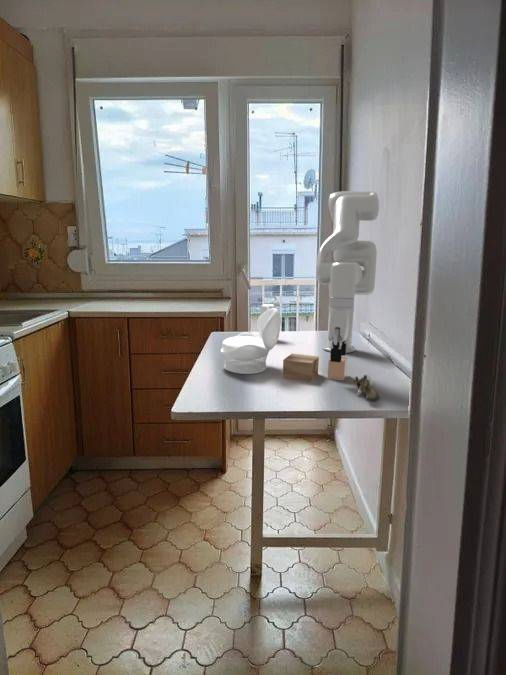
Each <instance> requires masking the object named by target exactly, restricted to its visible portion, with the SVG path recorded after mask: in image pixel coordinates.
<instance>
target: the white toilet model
mask: <svg viewBox="0 0 506 675" xmlns="http://www.w3.org/2000/svg"><path fill="white" fill-rule="evenodd" d="M269 313H271V314H269ZM266 315H267V316H268V317H267V316H266ZM270 315H271V316H270ZM265 316H266V317H265ZM269 316H270V317H269ZM267 318H269V319H267ZM264 319H265V320H264ZM266 319H267V320H266ZM266 321H267V322H266ZM261 322H262V323H261ZM263 323H265V324H263ZM281 325H282V316H281V313H280V312H279V310H278V309H277V307H276V308H272V309H269V310H267V311H265V312H264V313H262V314H261V316H260V315H259V317H258V319H257V322H256V328H257V332H258V335H259V336H260V337H261V338H260V337H259V336H258V335H255V334H253V333H252V332H247V331H244V332H241V333H239V334H236V336H230V337H226V338H225V339H224V340H223V341H222V342H221V343H222V348H220V353H221V354H222V356H223V360H224V365H223V368H224V369H225V370H227V371H228V372H231V373H234V374H243V375H250V374H251V375H252V374H258V373H262V372H264V371H265V370H266V369H267V363H266V362H267V361H266V360H267V358H268V355H269V352H270V351H271V350H272V349H274V348H275V346H276V345H277V343H278V341H279V337H280V330H281Z"/></svg>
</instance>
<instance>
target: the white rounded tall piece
mask: <svg viewBox="0 0 506 675" xmlns="http://www.w3.org/2000/svg"><path fill="white" fill-rule="evenodd" d="M272 308H276V309H277V306H276V304H273V303H271V304H269V303H263V304H260V308H259V317H260V316H261V314H262V313H264V312H265V311H267V310H269V309H272ZM269 314H271V313H269ZM266 316H267V315H266ZM266 316H265V317H266ZM270 316H271V315H270ZM270 316H269V317H270ZM267 317H268V316H267ZM267 319H269V318H267ZM267 319H266V320H267ZM264 320H265V319H264ZM266 322H267V321H266ZM261 323H262V322H261ZM263 324H265V323H263ZM259 338H261V336H260V337H259Z"/></svg>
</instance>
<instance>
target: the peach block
mask: <svg viewBox="0 0 506 675" xmlns="http://www.w3.org/2000/svg"><path fill="white" fill-rule="evenodd" d="M347 366H348V357H344V356H343V357H342V356H341V362H331V361H330V358H329V359H328V366H327V379H328V380H338V381H345V379H346V376H347V369H348V367H347Z"/></svg>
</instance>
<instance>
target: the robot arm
mask: <svg viewBox="0 0 506 675" xmlns="http://www.w3.org/2000/svg"><path fill="white" fill-rule="evenodd" d="M328 210H329V213H330V217H331V220H332V222H333V226H332V227H333V228H332V234H331V235H329V237H328V238H326V240H325V241H324V242H323V243H322V244H321V246H320V248H319V250H318V252H317V257H316V266H315V277H316V278H315V279H316V281H317V282H318V283H319V284H320V285H326V286H327V285H328V294H329V295H328V296H329V298H328V320H327V321H328V322H327V335H326V338H327V340H326V343H325V344H323V346H322V349H323V350H324V351H327V352H330V358H329V359H330V361H331V362H341V357H342V356H343V357H345V356H346V354H348V353H349V354H350V353H353V352H354V353H355V351H356V346H354V345H352V343H353V340H352V339H353V327H354V326H353V325H354V309H355V308H354V306H355V296H369V295H371V294H373V293H374V290H375V285H376V271H377V270H376V268H377V253H378V252H377V246H376V244H375V243H374V242H373V241H370V240H359V237H360V221H365V222H366V221H371V222H372V221H375V220H376V219H378V218H377V217H378V216H379V212H380V200H379V196H378V194H377V192H376V191H370V190H362V191H361V190H358V191H357V190H351V191H350V190H349V191H348V190H347V191H346V190H345V191H344V190H343V191H336V192H332V193H331V194H330V195H329V197H328ZM331 253H333V255H332V256H333V260H326V259H327V257H328V256H329V255H331ZM362 268H363V269H362Z"/></svg>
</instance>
